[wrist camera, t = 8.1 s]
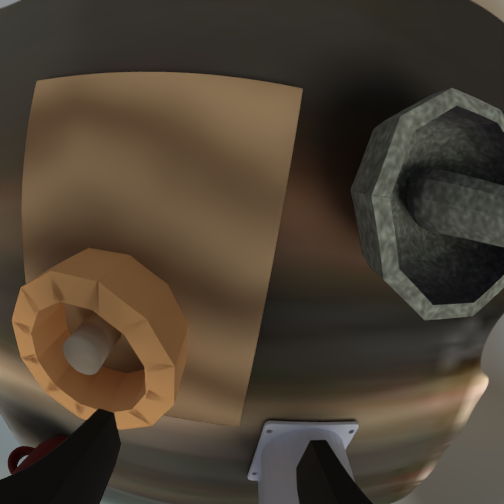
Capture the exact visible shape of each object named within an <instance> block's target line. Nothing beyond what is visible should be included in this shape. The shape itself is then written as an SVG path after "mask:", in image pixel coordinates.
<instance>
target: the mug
mask: <svg viewBox="0 0 504 504" xmlns="http://www.w3.org/2000/svg"><path fill="white" fill-rule="evenodd" d="M66 438H68V436H64V435H58V436H56V437H53V438H51V439H48V440H46V441H44V442H42V443H41V444H39V445H38V446H37V447H36V448H32V447H28V446H21V447H18V448H16V449H15V450H13V451H12V452H11V454H10V456H9V458H8V468H9V471H10V473H11V474H12V475H13V474H15V473H17V472H19V471H21V470H23V469H24V468H26V467H28V466H30V465H31V464H33V463H35V462H36V461H38V460H39V459H41V458H42V457H44V456H45V455H46V454H48V453H49V452H50V451H52V450H53V449H54V448H56V447H57V446H58V445H59V444H61V443H62V442H63V441H64V440H65V439H66ZM26 455H28V457H27V458H26V459H25V460H24V461H23V462H22V463H21V464H20V465H19V466H18V467H17V464H18V462H19V460H20V459H21V458H22V457H24V456H26Z"/></svg>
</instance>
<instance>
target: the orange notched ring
mask: <svg viewBox="0 0 504 504" xmlns="http://www.w3.org/2000/svg"><path fill="white" fill-rule="evenodd" d="M64 303H67V304H71V305H75V306H78V307H82V308H86V309H90V310H93V311H94V312H95V313H97V314H98V315H99V316H100V317H102V318H103V319H104V320H105V321H107V322H108V323H109V324H111V325H112V326H113V327H115V328H116V329H117V330H119V331H120V332H121V333H123V334H124V335H125V337H126V338H127V340H128V342H129V343H130V345H131V346H132V348H133V350H134V351H135V353H136V354H137V356H138V358H139V359H140V361H141V362H142V364H143V365H144V370H140V371H135V372H131V373H124V372H120V371H116V370H112V369H109V368H105V367H102V366H101V367H100V369H99V370H98V372H97V373H95V374H93V375H87V374H83V373H81V372H79V371H77V370H76V369H74V368H73V367H72V366H71V365H70V364H69V363H68V361H67V360H66V358H65V356H64V353H63V344H64V342H65V341H66V340H67V339H68V338H69V337H70V336H71V333H70V332H69V330H68V328H67V322H66V315H65V307H64ZM12 323H13V328H14V332H15V336H16V340H17V344H18V348H19V351H20V355H21V358H22V360H23V361H24V363H25V364H26V366H27V367H28V369H29V370H30V372H31V373H32V374H33V376H34V377H35V379H36V380H37V381H38V383H39V384H40V386H41V387H42V388H43V390H44V391H45V392H46V393H47V394H48V395H50V396H51V397H52V398H53V399H55V400H56V401H57V402H59V403H60V404H61V405H63V406H64V407H65V408H67V409H68V410H69V411H71V412H72V413H74V414H75V415H76V416H78V417H79V418H82V419H85V420H87V419H88V418H89V417H90V416H91V415H92V414H93V413H94V412H95V411H96V410H97V409H99V408H100V409H103V410H106V411H110V412H113V413H114V415H115V420H116V424H117V429H118V430H120V429H130V428H140V427H148V426H152V425H153V424H154V423H155V422H156V421H157V420H158V419H160V418H161V417H162V416H163V415H164V414H165V413H166V412H167V411H168V410H169V409H170V408H171V407H172V406H173V405H174V404H175V400H176V396H177V393H178V389H179V385H180V382H181V378H182V375H183V371H184V368H185V364H186V359H187V342H188V327H189V324H188V322H187V320H186V319H185V317H184V315H183V313H182V311H181V309H180V307H179V305H178V303H177V301H176V299H175V297H174V295H173V293H172V291H171V289H170V287H169V285H168V284H167V283H166V282H164V281H163V280H162V279H160V278H159V277H158V276H156V275H155V274H154V273H152V272H151V271H150V270H148V269H147V268H146V267H145V266H143V265H142V264H141V263H139V262H138V261H137V260H136V259H134V258H133V257H132V256H131V255H128V254H122V253H116V252H110V251H104V250H98V249H92V248H88V249H86V250H84V251H82V252H80V253H78V254H76V255H74V256H72V257H70V258H68V259H66V260H64V261H63V262H61V263H59V264H57V265H55V266H54V267H52V268H51V269H49V270H47V271H46V272H44V273H42V274H41V275H39V276H38V277H36V278H35V279H33V280H31V281H30V282H28V283H27V284H25V285H24V286H22V287H21V289H20V292H19V296H18V299H17V302H16V306H15V310H14V313H13V317H12Z"/></svg>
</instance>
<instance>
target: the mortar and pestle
mask: <svg viewBox="0 0 504 504" xmlns="http://www.w3.org/2000/svg"><path fill="white" fill-rule="evenodd" d="M350 190H351V195H352V200H353V205H354V210H355V215H356V220H357V226H358V232H359V237H360V243H361V250H362V254H363V256H364V258H365V259H366V261H367V263H368V264H369V266H370V268H371V269H372V270H374V271H375V272H376V273H377V274H378V275H379V276H380V277H381V278H382V279H383V280H384V281H385V282H386V283H387V284H388V285H389V286H390V287H391V288H392V289H393V290H394V291H395V292H396V293H397V294H398V295H400V296H401V297H402V298H403V299H404V300H405V301H406V302H407V303H408V304H409V305H410V306H411V307H412V308H413V309H414V310H415V311H416V312H417V313H418V314H419V315H420V316H421V317H422V318H423V319H424V320H434V319H446V318H457V317H467V316H473V315H474V314H476V313H477V312H478V311H479V310H480V309H481V308H482V307H484V306H485V305H486V304H487V303H488V302H489V301H490V300H491V299H492V298H493V297H494V296H495V295H496V294H498V293H499V292H500V291H501V290H502V289H503V288H504V115H503V113H502V112H501V110H500V109H498V108H496V107H494V106H492V105H490V104H487V103H485V102H483V101H481V100H479V99H477V98H474V97H472V96H470V95H468V94H465V93H463V92H460V91H458V90H456V89H453V88H450V89H447V90H443V91H440V92H437V93H434V94H432V95H430V96H428V97H426V98H425V99H423V100H421V101H419V102H417V103H415V104H414V105H412V106H410V107H408V108H406V109H404V110H403V111H401V112H399V113H397V114H395V115H394V116H392V117H390V118H388V119H387V120H385V121H383V122H382V123H381V124H379V125H378V126H377V127H375V128H374V129H373V131H372V134H371V137H370V139H369V142H368V145H367V148H366V150H365V153H364V156H363V158H362V161H361V164H360V166H359V169H358V171H357V174H356V177H355V179H354V182H353V184H352V187H351V189H350Z"/></svg>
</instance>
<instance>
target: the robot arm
mask: <svg viewBox="0 0 504 504" xmlns="http://www.w3.org/2000/svg"><path fill="white" fill-rule="evenodd" d="M358 428H359V424H358V422H356V421H351V422H289V421H267V422H265V423H264V426H263V429H262V432H261V436H260V439H259V442H258V445H257V448H256V451H255V454H254V457H253V461H252V464H251V467H250V470H249V473H248V479H249V480H255V481H258V498H259V504H373V503H372V502H371V501H370V500H369V499H368V498H367V497H366V495H365V494H364V493H363V492H362V491H361V490H360V488H359V487H358V486H357V484H356V483H355V481H354V477H353V474H352V471H351V467H350V464H349V461H348V457H347V454H346V451H345V449H346V448H347V446H348V444H349V443H350V441H351V439H352V438H353V436H354V434H355V433H356V431H357V429H358ZM120 445H121V442H120V438H119V433H118V429H117V424H116V420H115V415H114V413H113V412H110V411H106V410H103V409H100V408H99V409H97V410H96V411H95V412H94V413H93V414H92V415H91V416H90V417H89V418H88V419H87V420H86V421H85V422H84V423H83V424H82V425H81V426H80V427H79V428H78V429H77V430H76V431H74V432H73V433H72V434H71V435H70V436H69V437H68V438H66V439H65V440H64V441H63V442H62V443H61V444H59V445H58V446H57V447H56V448H54V449H53V450H52V451H50V452H49V453H48V454H46V455H45V456H44V457H42V458H41V459H39V460H38V461H36V462H35V463H33V464H31V465H30V466H28V467H26V468H24V469H23V470H21V471H19V472H17V473H15V474H13V475H11V476H8V477H6V478H4V479H1V480H0V504H100V501H101V499H102V496H103V494H104V491H105V489H106V486H107V484H108V482H109V479H110V477H111V474H112V472H113V469H114V467H115V464H116V460H117V457H118V453H119V449H120Z"/></svg>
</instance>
